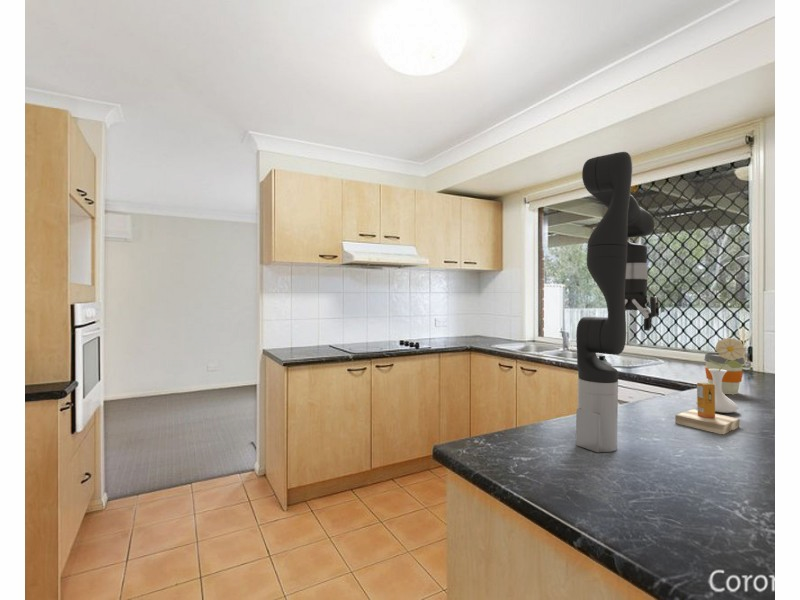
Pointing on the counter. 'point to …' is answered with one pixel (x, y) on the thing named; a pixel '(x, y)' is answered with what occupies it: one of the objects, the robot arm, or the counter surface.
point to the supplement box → (706, 400)
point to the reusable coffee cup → (730, 377)
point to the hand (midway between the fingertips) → (632, 329)
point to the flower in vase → (729, 351)
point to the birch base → (707, 422)
